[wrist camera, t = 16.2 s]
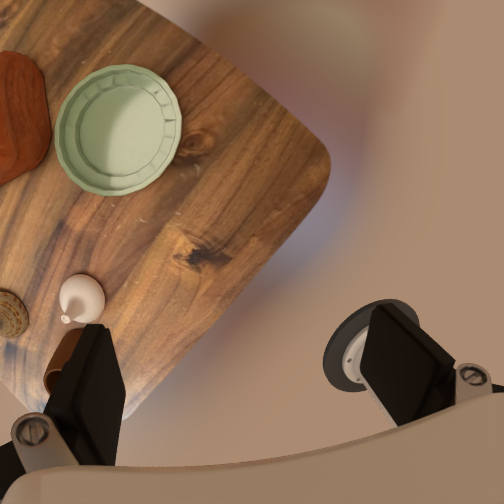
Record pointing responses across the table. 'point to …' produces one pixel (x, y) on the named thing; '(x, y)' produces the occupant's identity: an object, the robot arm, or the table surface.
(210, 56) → the table surface
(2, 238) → the table surface
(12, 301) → the seashell
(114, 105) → the bowl
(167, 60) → the table surface
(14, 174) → the bread
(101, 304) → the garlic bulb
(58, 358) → the mug
